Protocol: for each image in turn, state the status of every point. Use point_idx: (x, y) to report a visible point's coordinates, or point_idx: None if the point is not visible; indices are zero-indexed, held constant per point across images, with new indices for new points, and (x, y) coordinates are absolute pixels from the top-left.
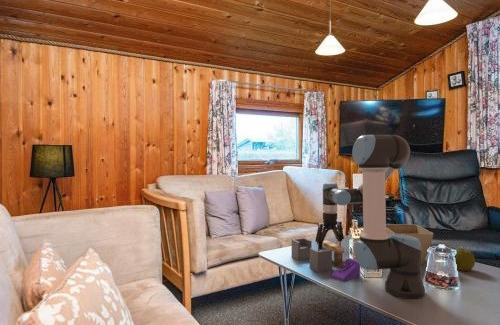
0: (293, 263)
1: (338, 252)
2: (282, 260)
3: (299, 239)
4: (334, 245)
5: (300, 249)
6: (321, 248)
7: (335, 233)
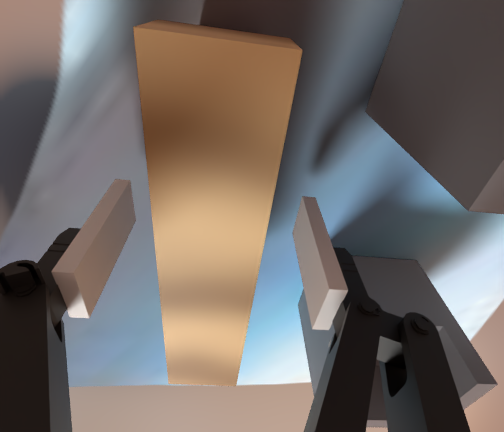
0: (487, 238)
1: (272, 38)
2: (475, 293)
3: (384, 416)
4: (211, 211)
5: (435, 321)
6: (336, 255)
7: (60, 423)
